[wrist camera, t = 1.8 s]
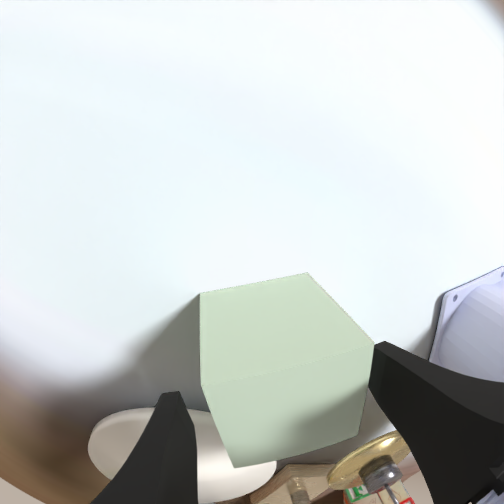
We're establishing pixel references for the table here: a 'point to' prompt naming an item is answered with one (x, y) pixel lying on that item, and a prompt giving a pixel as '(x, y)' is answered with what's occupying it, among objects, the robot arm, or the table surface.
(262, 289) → the sage block
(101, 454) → the dish
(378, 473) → the balance
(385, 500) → the stack of blocks
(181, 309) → the table surface
